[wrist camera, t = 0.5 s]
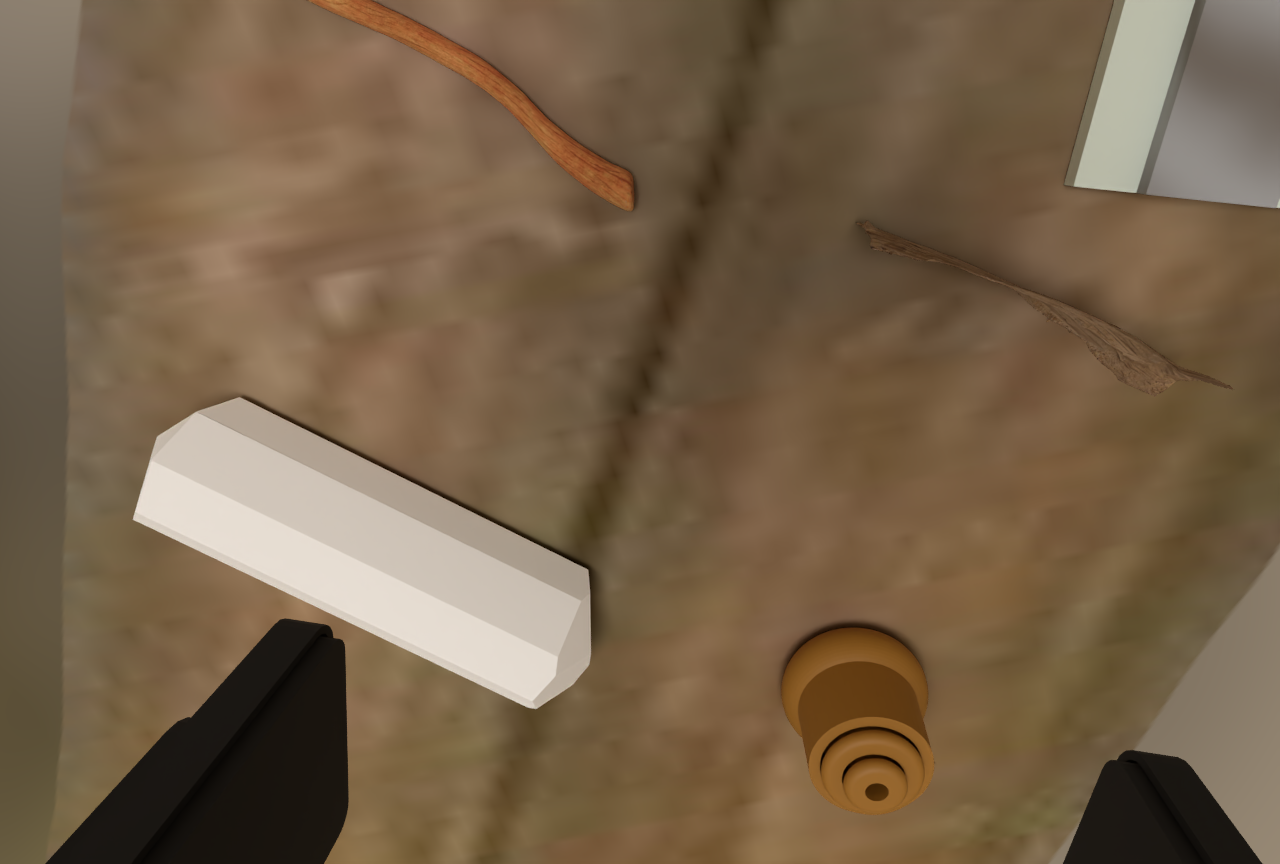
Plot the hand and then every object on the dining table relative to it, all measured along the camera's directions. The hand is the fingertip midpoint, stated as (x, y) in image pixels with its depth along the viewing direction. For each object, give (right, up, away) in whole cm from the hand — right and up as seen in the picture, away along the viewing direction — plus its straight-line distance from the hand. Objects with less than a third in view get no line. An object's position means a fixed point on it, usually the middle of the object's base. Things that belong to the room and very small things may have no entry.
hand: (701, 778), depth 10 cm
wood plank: (+16, +10, +26) cm, 32 cm away
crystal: (-14, -1, +33) cm, 36 cm away
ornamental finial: (+11, -9, +34) cm, 36 cm away
